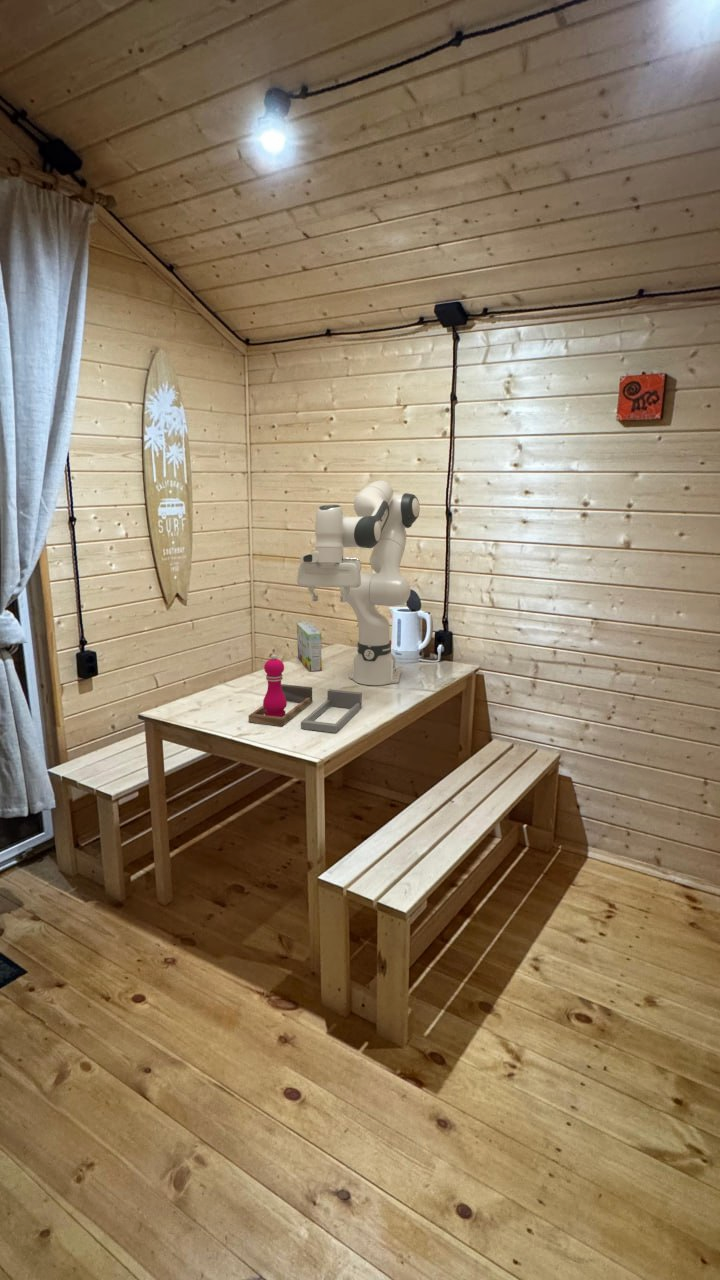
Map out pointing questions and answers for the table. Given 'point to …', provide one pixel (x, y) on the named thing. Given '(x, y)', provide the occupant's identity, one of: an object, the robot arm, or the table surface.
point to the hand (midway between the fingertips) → (328, 601)
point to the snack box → (309, 646)
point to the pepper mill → (274, 688)
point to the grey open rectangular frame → (338, 700)
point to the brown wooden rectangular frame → (291, 694)
